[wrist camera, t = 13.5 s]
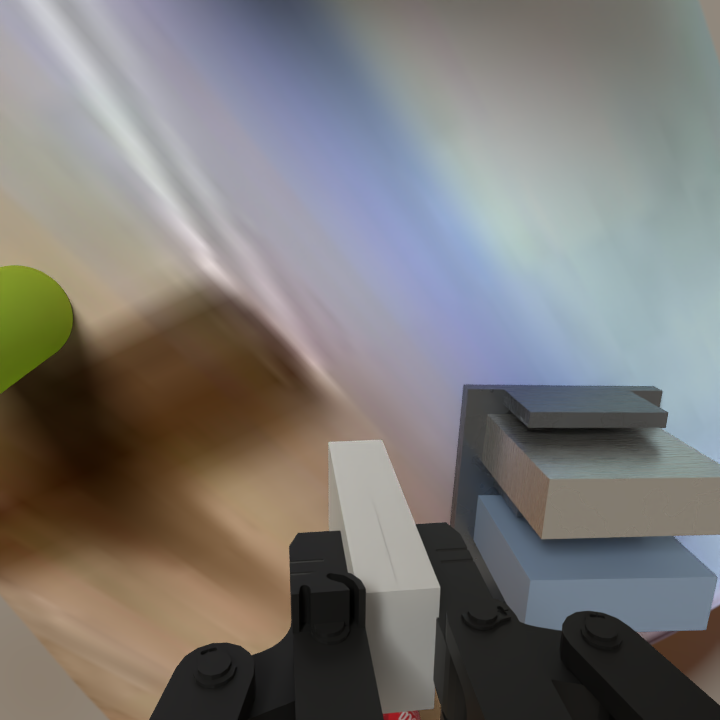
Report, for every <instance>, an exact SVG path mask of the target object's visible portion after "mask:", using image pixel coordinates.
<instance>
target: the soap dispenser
mask: <svg viewBox="0 0 720 720" xmlns="http://www.w3.org/2000/svg"><path fill="white" fill-rule="evenodd" d="M72 324H73V313H72V308H71V304H70V302H69V299H68V297H67V295H66V294H65V292H64V291H63V289H62V288H61V287H60V286H59V284H58V283H57V282H55V281H54V280H53V279H52V278H51V277H49V276H48V275H46V274H45V273H43V272H41V271H39V270H36V269H33V268H30V267H25V266H4V267H0V394H1V393H2V392H3V391H5V390H6V389H7V388H9V387H10V386H11V385H13V384H14V383H15V382H17V381H18V380H20V379H21V378H22V377H24V376H25V375H26V374H28V373H29V372H30V371H32V370H33V369H34V368H36V367H37V366H38V365H40V364H41V363H43V362H44V361H45V360H47V359H48V358H49V357H51V356H52V355H53V354H55V353H56V352H57V351H58V350H60V349H61V348H62V346H63V345H64V344H65V343H66V341H67V339H68V338H69V335H70V333H71V330H72Z"/></svg>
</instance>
